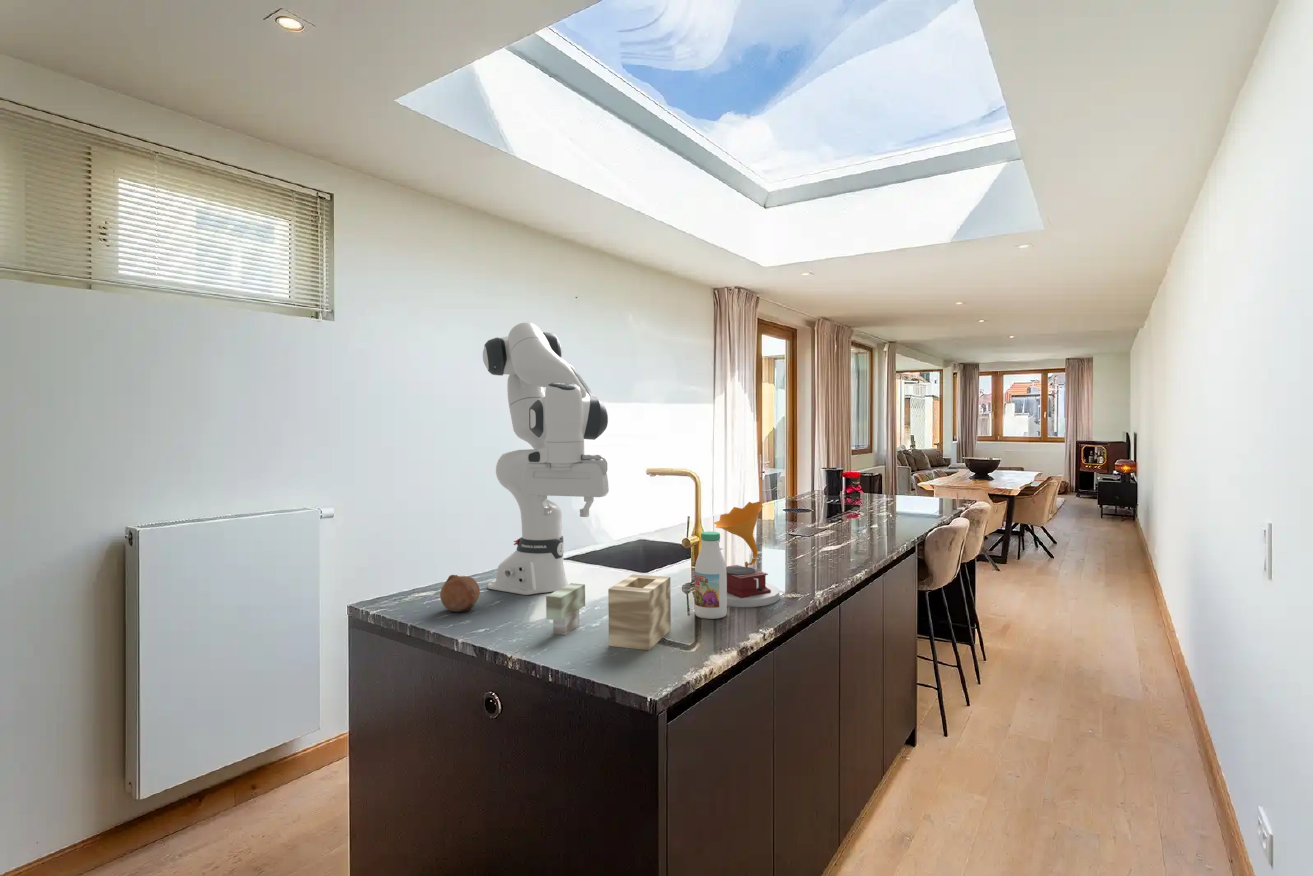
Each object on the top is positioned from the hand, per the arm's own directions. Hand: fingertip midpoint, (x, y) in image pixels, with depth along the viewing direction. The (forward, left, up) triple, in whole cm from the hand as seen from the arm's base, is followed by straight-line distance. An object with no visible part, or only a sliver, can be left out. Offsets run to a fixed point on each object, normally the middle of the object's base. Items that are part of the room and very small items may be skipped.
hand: (565, 516), depth 154 cm
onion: (-32, +5, -26) cm, 42 cm away
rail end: (0, 0, -26) cm, 26 cm away
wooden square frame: (+18, 0, -26) cm, 31 cm away
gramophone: (+31, +40, -26) cm, 57 cm away
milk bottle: (+28, +21, -26) cm, 44 cm away
